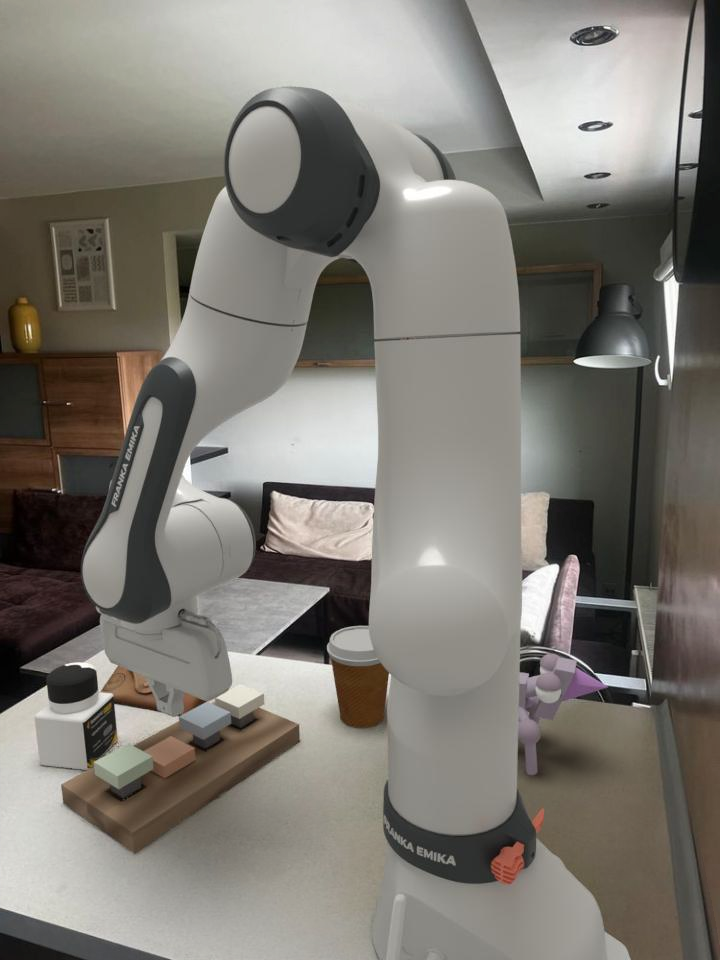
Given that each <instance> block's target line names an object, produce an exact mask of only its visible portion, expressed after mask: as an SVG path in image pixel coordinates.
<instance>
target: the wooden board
mask: <svg viewBox="0 0 720 960" xmlns="http://www.w3.org/2000/svg"><path fill="white" fill-rule="evenodd" d="M211 704H213V705H215V701H214V702H212V703H211ZM215 706H216V705H215ZM253 717H254V720H253V721H251V722H250V723H248V724H246V725H245V726H243V727H241V728H240V727H238V726H235V725H233V724H230V725H228V726H226V727H225V728H223V729H221V730H219V732H220V740H219V741H218V742H216V743H214V744H213V745H211V746H209V747H208V748H206V749H205V748H203V747H201V746H199V745H197V744H195V743H193V734H191V733H189V732H187V731H184V730H182V729H180V725H179V720H178V721H176V722H174V723H172V724H171V725H169V726H167V727H165V728H163V729H161V730H160V731H158V732H156V733H154V734H152V735H151V736H149V737H146V738H144V739H142V740H140V741H139V742H137V743H136V744H133V745H132V746H134V747H136V748H138V749H140V750H141V751H145V750H147V749H148V748H150V747H152V746H154V745H156V744H157V743H159V742H161V741H163V740H165V739H166V738H168V737H170V736H172V737H174V738H176V739H178V740H180V741H182V742H184V743H186V744H188V745H190V746H192V747H194V748H195V758H196V760H194V761H193V762H191V763H190V764H188V765H186V766H185V767H183V768H181V769H180V770H178V771H176V772H175V773H173V774H171V775H170V776H168V777H166V778H163V777H161V776H159V775H158V774H156V773H154V772H152V771H149V772H148V773H146V774H144V775H142V776H141V777H140V780H141V788H139V789H138V790H136V791H134V792H133V793H131V794H129V795H128V796H126V797H124V798H122V797H120V796H119V795H117V794H116V793H114V792H113V791H111V787H110V784H109V783H108V782H106V781H104V780H103V779H101V778H100V777H98V776H96V775H95V769H94V766H92V767H91V768H90V769H89V770H84V772H81V773H80V774H78V775H76V776H74V777H72V778H70V779H68V780H67V781H65V782H63V783H61V784H60V787H61V788H60V789H61V795H62V804H64V805H65V806H66V807H68V808H69V809H71V810H72V811H73V812H75V813H76V814H77V815H79V816H80V817H82V818H83V819H84V820H86V821H88V822H89V823H90V824H92V825H93V826H95V827H96V828H97V829H99V830H100V831H102V832H103V833H105V834H106V835H107V836H109V837H111V838H112V839H113V840H114V841H116V842H117V843H118V844H121V846H123V847H124V848H126V849H127V850H129V851H130V852H131V853H133V854H136V853H137V852H139V851H141V850H142V849H144V848H145V847H147V846H148V845H149V844H151V843H152V842H154V841H156V840H157V839H158V838H160V837H161V836H163V835H164V834H166V833H167V832H168V831H170V830H172V829H173V828H174V827H176V826H177V825H179V824H180V823H182V822H184V821H185V820H186V819H188V818H190V816H192V815H193V814H195V813H196V812H198V811H199V810H201V809H203V808H204V807H205V806H207V805H208V804H210V803H211V802H212V801H214V800H216V799H217V798H218V797H220V796H221V795H223V794H224V793H226V792H227V791H229V790H231V789H232V788H234V787H235V786H236V785H237V784H239V783H240V782H242V781H244V780H245V779H246V778H247V777H249V776H251V775H253V774H254V773H255V772H257V771H258V770H259V769H261V768H263V767H264V766H265V765H267V764H269V763H270V762H272V761H273V760H275V758H277V757H279V756H280V755H281V754H283V753H285V752H286V751H288V750H289V749H291V748H292V747H294V746H295V745H296V744H298V743H299V742H301V738H300V735H301V734H300V724H299V723H297V722H295V721H293V720H290V719H288V718H286V717H284V716H283V717H282V716H280V715H278V714H276V713H273V712H271V711H268V710H266V709H264V708H262V707H259V708H257V709H255V710H254V711H253Z"/></svg>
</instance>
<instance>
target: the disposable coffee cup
mask: <svg viewBox="0 0 720 960" xmlns="http://www.w3.org/2000/svg"><path fill="white" fill-rule="evenodd" d="M326 650H327V653H328V656H329V657H330V659H331V660H330V661H331V662H330V663H331V666H332V674H333V678H334V684H335V694H336V698H337V704H338V711H339V716H340V717H339V718H340V720H341V722H343V723H344V724H345V725H347V726H350V727H354V728H370V727H373V726H377V725H378V724H380V723H381V722H382V721H383V720H384V717H385V712H386V711H385V710H386V703H387V702H386V701H387V693H388V686H389V685H388V684H389V675H390V673H389V672H388V671H387V670H386V669H385V668H384V666H383V665H382V664H381V662H380V661H379V659H378V657H377V655H376V653H375V651H374V649H373V646H372V643H371V639H370V634H369V625H354V626H348V627H344V628H339V630H336V631H334V632H333V633H332V634H331V635H330V637H329V642H328V643H327V645H326Z"/></svg>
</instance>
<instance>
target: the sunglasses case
mask: <svg viewBox="0 0 720 960" xmlns="http://www.w3.org/2000/svg"><path fill="white" fill-rule="evenodd" d="M100 692H102V693H112V694H113V696H114V705H121V706H126V707H132V708H139V709H143V710H148V709H149V711H154V712H160V713H162V712H161V711H159V710H157V704H156V698H155V697H154V695H153V693H152V691H151V689H150V687H149V685H148V682H147V677H145V676H143V675H140V674H138V673H135V672H133V671H130V670H128V669H125V668H123V667H120V666H118V665H116V668H115V669H114V671H113V673H112V674H111V675H110V677H109V678H108V679H107V681H106V682H105V684H104V686H103V687H102V689H101V690H100ZM206 702H208V701H204V700H202V699H199V698H197V697H194V696H192V695H189V694H187V693H185V696H184V698H183V705H184V711H183V713H181V714H180V715H178V716H177V717H179V716H181V715H183V714H185V713H187V712H189V711H190V710H192V709H194V708H196V707H198V706H200V705H202V704H204V703H206Z"/></svg>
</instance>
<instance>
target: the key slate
mask: <svg viewBox="0 0 720 960" xmlns="http://www.w3.org/2000/svg"><path fill="white" fill-rule="evenodd" d="M178 721H179V725H180V729H182V730H184V731H187V732H189V733H191V734H193V743H195V744H197V745H199V746H201V747H203V748H205V749H206V748H208V747H209V746H211V745H213V744H214V743H216V742H218V741H219V740H220V732H219V730H221V729H223V728H225V727H226V726H228V725H230V724H231V712H229V711H227V710H224V709H222V708H220V707H218V706H215V705H213V704H211V703H210V701H207V702H206V703H204V704H202V705H200V706H198V707H196V708H194V709H192V710H190V711H189V712H187V713H185V714H183V715H181V716H178Z"/></svg>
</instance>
